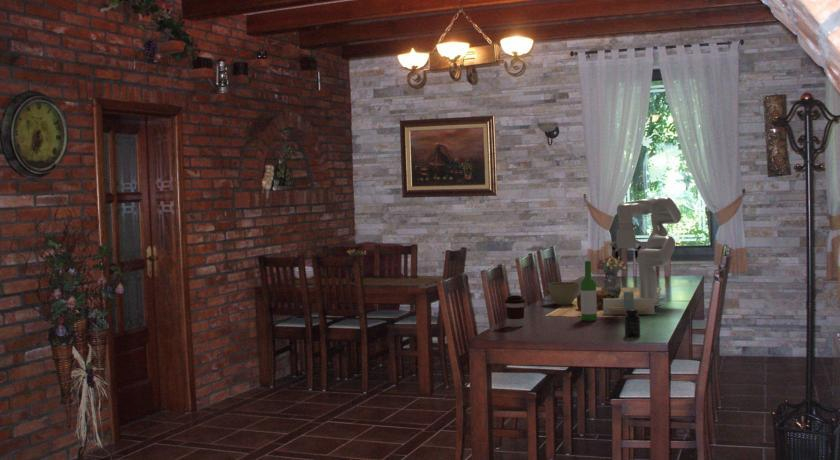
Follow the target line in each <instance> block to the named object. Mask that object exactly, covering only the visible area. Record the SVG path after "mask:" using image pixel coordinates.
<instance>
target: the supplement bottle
mask: <svg viewBox="0 0 840 460" xmlns="http://www.w3.org/2000/svg"><path fill="white" fill-rule="evenodd" d="M623 321H624V336H625V337H627V336H628V337H627V338H637V337H636V336H639V337H641V318H640V316H639V314H638V312H637V309H627V310H626V314H625V315H624V318H623Z"/></svg>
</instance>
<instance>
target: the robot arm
mask: <svg viewBox="0 0 840 460" xmlns="http://www.w3.org/2000/svg"><path fill="white" fill-rule="evenodd" d="M616 213H617V215H618V217H617V218H618V229H617V230H616V240H614V241H611V243H610V244H609V245H610V247H611V249H612V250H613V251H614V252H615V256H614V257H615V258H616V260H619V250H620V249H632V248H633V249H634V259H636V261H637V265H638V281H639V285H638V286H639V288H638V290H639V299H654V307H658V306H661V302H665V301H666V298H665V297H660V296H658V282H657V280H658V279H657V277H658V276H657V275H658V274H657V271H656V270H655V268H654V267H665V266H667V265H668V263H669V261H670V259H671V258H672V255H673V254H674V251H675V248H676V240H675V238H674V237H673V236H671V235H668V231H667V228H665V226H664V224H665V225H668V224H670V225H673V224H674V225H675V224H678V223H680V221H681V220H682V214H681V211H680V209H679V208H678V206H677V205H676V203H675V201H674V200H673V199H672V198H671V197H669V196H655V197H654V196H652V197H648V198H643V199H637V200H631V201H625V202H621V203H619V204H618V205H617V207H616ZM649 214H650V220H651V221H650V222H651V227H652V231H651V233H650V235H649V237H648V239H647V241H646V243H645V248H642V246H643V244H644V243H643V242H642V241H639V240H638V239H637V237H636V230H635V228H636V227H637V226H636V224H634V220H633V219H634V218H639V217H641V216H644V215H649ZM615 244H616V247H615V246H614V245H615ZM637 244H639V246H637Z"/></svg>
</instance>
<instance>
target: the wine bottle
mask: <svg viewBox="0 0 840 460" xmlns="http://www.w3.org/2000/svg"><path fill="white" fill-rule="evenodd" d="M591 263H592V262H591V260H585V261H584V277H583V279H581V282H580V293H581V309H580V313H581V314H580V317H581V320H582V321H583V322H594V321H595V322H596V321H597V319H598V313H597V311H598V310H597V302H596V291H597V282H596V281H595V278H593V277H592V267H591V266H592V264H591Z"/></svg>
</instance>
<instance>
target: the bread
mask: <svg viewBox="0 0 840 460" xmlns="http://www.w3.org/2000/svg"><path fill="white" fill-rule="evenodd" d="M603 299H615V294H613V293H612V292H611V291H610V290H608V289H599V290H598V289H596V302H597V309H600V310H603ZM576 305H577V309H579V310H581V292H580V293H579V294H577V296H576Z"/></svg>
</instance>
